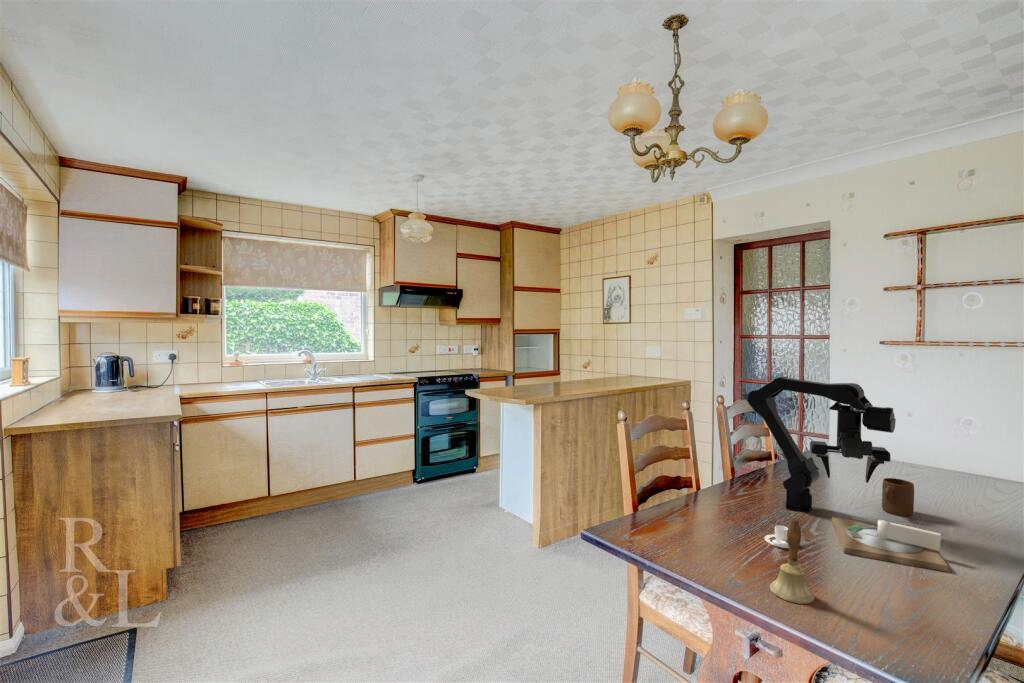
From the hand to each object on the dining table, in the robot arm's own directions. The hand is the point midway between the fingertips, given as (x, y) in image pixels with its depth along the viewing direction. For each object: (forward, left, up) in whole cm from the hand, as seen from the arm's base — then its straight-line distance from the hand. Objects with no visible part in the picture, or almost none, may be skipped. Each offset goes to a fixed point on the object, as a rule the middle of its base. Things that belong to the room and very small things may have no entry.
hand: (847, 480), depth 140 cm
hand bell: (-17, -51, -12) cm, 55 cm away
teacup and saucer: (-21, -25, -13) cm, 35 cm away
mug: (+14, +13, -12) cm, 23 cm away
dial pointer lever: (+8, -15, -10) cm, 19 cm away
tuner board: (+6, -14, -12) cm, 19 cm away
